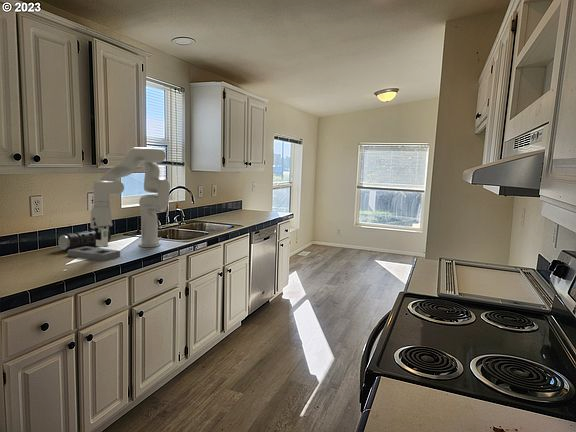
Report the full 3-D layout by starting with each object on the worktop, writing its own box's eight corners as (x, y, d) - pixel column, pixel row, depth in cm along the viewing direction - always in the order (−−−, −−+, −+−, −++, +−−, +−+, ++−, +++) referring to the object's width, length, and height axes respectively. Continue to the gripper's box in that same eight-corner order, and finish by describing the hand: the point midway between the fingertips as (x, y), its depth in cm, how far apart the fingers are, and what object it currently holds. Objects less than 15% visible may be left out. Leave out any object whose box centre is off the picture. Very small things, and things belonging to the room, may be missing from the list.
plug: (101, 244, 206) (101, 228, 205) (108, 245, 204) (108, 228, 204) (95, 245, 202) (95, 229, 201) (102, 246, 201) (102, 229, 200)
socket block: (86, 252, 216) (86, 245, 216) (120, 257, 208) (120, 250, 208) (67, 256, 205) (67, 249, 205) (102, 261, 197) (102, 254, 197)
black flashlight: (111, 245, 237) (111, 228, 236) (68, 253, 212) (68, 235, 211) (100, 243, 241) (100, 227, 240) (57, 251, 216) (56, 233, 215)
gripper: (108, 203, 210) (108, 236, 212) (82, 204, 195) (83, 240, 197) (119, 204, 208) (119, 237, 210) (94, 205, 192) (94, 242, 194)
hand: (101, 238), depth 203 cm, fingers closed on plug, 4 cm apart
